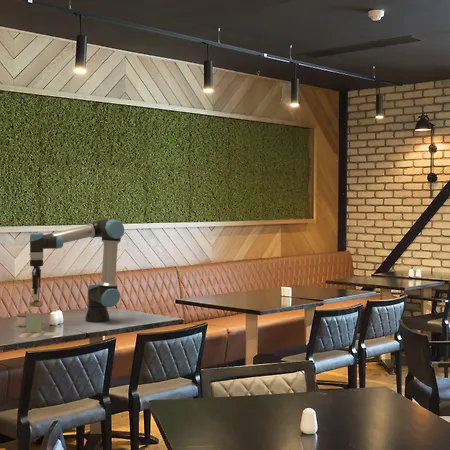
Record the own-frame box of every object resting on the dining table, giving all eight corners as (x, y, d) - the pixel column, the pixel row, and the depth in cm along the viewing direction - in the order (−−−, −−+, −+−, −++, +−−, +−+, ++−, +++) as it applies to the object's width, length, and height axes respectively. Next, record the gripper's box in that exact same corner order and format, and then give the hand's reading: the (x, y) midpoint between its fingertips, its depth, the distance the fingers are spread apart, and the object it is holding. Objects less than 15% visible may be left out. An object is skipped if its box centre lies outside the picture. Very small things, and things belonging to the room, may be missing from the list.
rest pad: (62, 333, 419) (62, 332, 419) (59, 336, 410) (59, 335, 410) (46, 333, 419) (46, 332, 419) (42, 336, 410) (42, 335, 410)
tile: (42, 332, 420) (42, 313, 419) (41, 332, 418) (41, 313, 417) (26, 332, 419) (26, 313, 419) (25, 332, 417) (25, 313, 417)
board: (46, 331, 423) (46, 331, 423) (39, 337, 405) (39, 336, 405) (25, 332, 423) (25, 331, 423) (17, 337, 405) (17, 337, 405)
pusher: (42, 305, 429) (42, 277, 428) (40, 306, 423) (40, 278, 422) (32, 305, 429) (32, 277, 428) (29, 306, 423) (30, 278, 422)
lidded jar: (18, 325, 446) (18, 310, 445) (36, 325, 446) (36, 309, 446) (15, 328, 435) (14, 312, 435) (33, 328, 436) (33, 312, 435)
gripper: (33, 258, 433) (33, 297, 433) (26, 260, 417) (26, 301, 418) (45, 258, 433) (45, 297, 434) (40, 260, 417) (39, 301, 418)
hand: (36, 299), depth 426 cm, fingers closed on pusher, 3 cm apart
